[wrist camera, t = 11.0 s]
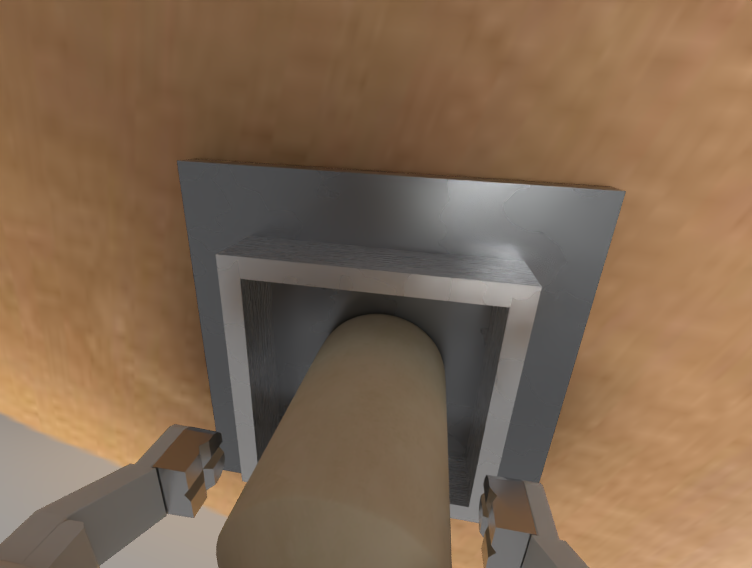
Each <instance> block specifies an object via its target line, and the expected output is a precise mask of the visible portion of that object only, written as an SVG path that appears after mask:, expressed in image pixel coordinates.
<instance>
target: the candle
mask: <svg viewBox="0 0 752 568" xmlns="http://www.w3.org/2000/svg"><path fill="white" fill-rule="evenodd" d="M216 556H217V562H218V567H219V568H452V561H451V530H450V499H449V468H448V438H447V407H446V380H445V369H444V364H443V361H442V358H441V355H440V352H439V350H438V348H437V346H436V345H435V343H434V342H433V340H432V339H431V338H430V337H429V336H428V335H427V334H426V333H425V332H424V331H423V330H422V329H420V328H419V327H417V326H416V325H414V324H413V323H411V322H409V321H407V320H405V319H402V318H399V317H396V316H392V315H386V314H367V315H362V316H358V317H355V318H352V319H350V320H347V321H346V322H344V323H342V324H341V325H340V326H338V327H337V328H336V329H335V330H334V331H333V332H332V333H331V334H330V335H329V336H328V337H327V339H326V340H325V342H324V343H323V345H322V347H321V348H320V350H319V352H318V353H317V355H316V357H315V359H314V361H313V363H312V364H311V366H310V368H309V370H308V372H307V374H306V375H305V377H304V379H303V381H302V383H301V385H300V386H299V388H298V390H297V392H296V394H295V396H294V397H293V399H292V401H291V403H290V405H289V407H288V408H287V410H286V412H285V414H284V416H283V418H282V419H281V421H280V423H279V425H278V427H277V429H276V430H275V432H274V434H273V436H272V438H271V440H270V441H269V443H268V445H267V447H266V449H265V451H264V452H263V454H262V456H261V458H260V460H259V462H258V463H257V465H256V467H255V469H254V471H253V473H252V474H251V476H250V478H249V480H248V482H247V484H246V485H245V487H244V489H243V491H242V493H241V495H240V496H239V498H238V500H237V502H236V504H235V506H234V507H233V509H232V511H231V513H230V515H229V517H228V519H227V520H226V522H225V524H224V526H223V528H222V530H221V532H220V534H219V537H218V541H217V546H216Z"/></svg>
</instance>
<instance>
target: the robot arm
mask: <svg viewBox="0 0 752 568" xmlns="http://www.w3.org/2000/svg"><path fill="white" fill-rule="evenodd" d="M222 442H223V441H222V435H221V433H219V432H216V431H210V430H205V429H200V428H195V427H188V426H183V425H177V424H174V425H172V426H170V427H169V428H168V429H167V430H166V431H165V432H164V433H163V434H162V435H161V437H160V438H159V439H158V440H157V441H156V442H155V443H154V444H153V445H152V446H151V447H150V448H149V449H148V451H147V452H146V453H145V454H144V455H143V456H142V457H141V458H140V459H139V460H138V461H137V462H136V464H129V465H127V466H125V467H123V468H121V469H119V470H117V471H115V472H113V473H111V474H109V475H107V476H105V477H103V478H101V479H99V480H97V481H95V482H93V483H91V484H89V485H87V486H85V487H83V488H81V489H79V490H77V491H75V492H73V493H71V494H69V495H67V496H65V497H63V498H61V499H59V500H57V501H55V502H53V503H51V504H49V505H47V506H45V507H43V508H41V509H39V510H37V511H35V512H34V513H33V514H32V515H31V516H30V517H29V518H28V519H27V520H26V521H25V522H24V523H22V524H21V525H20V526H19V527H18V528H17V529H16V530H15V531H14V532H13V533H12V534H11V535H10V536H9V537H8V538H6V539H5V540H4V541H3V542H2V543H1V544H0V568H100V567H99V566H100V565H101V564H103V563H104V562H105V561H107V560H108V559H109V558H111V557H112V556H113V555H114V554H116V553H117V552H119V551H120V550H121V549H123V548H124V547H125V546H127V545H128V544H129V543H131V542H132V541H133V540H135V539H136V538H137V537H138V536H140V535H141V534H142V533H144V532H145V531H147V530H148V529H149V528H151V527H152V526H153V525H154V524H155V523H157V522H159V521H160V520H161V519H163V518H164V517H165V516H166V514H172V515H179V516H185V517H191V518H194V517H195V515H196V514H197V512H198V511H199V509H200V508H201V506H202V505H203V503H204V502H205V500H206V498H207V491H206V490H207V489H209V488H211V487H212V486H214V485H215V484H216V483H217V481H218V479H219V478H220V476H221V473H222V470H223V468H224V462H225V455H224V451H223V450H222V449H221V448H220V447H219V446H220V444H221V443H222ZM483 486H484V493H483V494H482V495H481V497H480V502H479V514H478V515H479V530H480V533H481V534H482V536H483V537H484V539H483V543H482V548H481V549H482V558H483V567H484V568H589V567H588V566H587V565H586V563H585V562H584V561H583V560H582V559H581V558H580V557H579V556H578V555H577V553H576V552H575V551H574V550H573V549H572V548H571V547H570V546H569V544H568V543H567V542H566V541H563V540H559V536H558V533H557V530H556V527H555V523H554V520H553V517H552V514H551V510H550V507H549V504H548V500H547V497H546V494H545V491H544V487H543V486H542V484H541V483H537V482H531V481H524V480H522V481H521V480H519V479H512V478H505V477H498V476H492V475H486V476H485V479H484V483H483Z"/></svg>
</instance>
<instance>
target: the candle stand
mask: <svg viewBox="0 0 752 568" xmlns="http://www.w3.org/2000/svg"><path fill="white" fill-rule="evenodd" d="M177 165H178V171H179V178H180V185H181V192H182V199H183V206H184V213H185V220H186V227H187V233H188V240H189V247H190V254H191V261H192V268H193V275H194V282H195V289H196V296H197V302H198V309H199V316H200V323H201V330H202V337H203V344H204V351H205V358H206V364H207V371H208V378H209V385H210V392H211V399H212V406H213V413H214V420H215V426H216V432H219V433H221V435H222V441H223V442H222V443H221V444H220V446H219V447H220V448H221V449H222V450H223V451H224V455H225V462H224V468H223V470H226V471H232V472H238V473H242V481H244V482H248V480H249V478H250V476H251V474H252V473H253V471H254V469H255V467H256V465H257V463H258V462H259V460H260V458H261V456H262V454H263V452H264V451H265V449H266V447H267V445H268V443H269V441H270V440H271V438H272V436H273V434H274V432H275V430H276V429H277V427H278V425H279V423H280V421H281V419H282V418H283V416H284V414H285V412H286V410H287V408H288V407H289V405H290V403H291V401H292V399H293V397H294V396H295V394H296V392H297V390H298V388H299V386H300V385H301V383H302V381H303V379H304V377H305V375H306V374H307V372H308V370H309V368H310V366H311V364H312V363H313V361H314V359H315V357H316V355H317V353H318V352H319V350H320V348H321V347H322V345H323V343H324V342H325V340H326V339H327V337H328V336H329V335H330V334H331V333H332V332H333V331H334V330H335V329H336V328H337V327H338V326H340V325H341V324H342V323H344V322H346V321H347V320H350V319H352V318H355V317H358V316H362V315H367V314H386V315H392V316H396V317H399V318H402V319H405V320H407V321H409V322H411V323H413V324H414V325H416V326H417V327H419V328H420V329H422V330H423V331H424V332H425V333H426V334H427V335H428V336H429V337H430V338H431V339H432V340H433V342H434V343H435V345H436V346H437V348H438V350H439V352H440V355H441V358H442V361H443V364H444V369H445V380H446V407H447V438H448V468H449V499H450V518H454V519H459V520H465V521H471V522H476V523H479V515H478V514H479V502H480V497H481V495H482V494H483V493H484V486H483V483H484V479H485V476H486V475H492V476H498V477H505V478H512V479H519V480H521V481H522V480H524V481H531V482H537V483H539V481H540V478H541V474H542V471H543V468H544V464H545V461H546V458H547V454H548V451H549V448H550V444H551V441H552V438H553V434H554V431H555V427H556V424H557V421H558V417H559V414H560V411H561V407H562V404H563V401H564V397H565V394H566V391H567V387H568V384H569V380H570V377H571V374H572V370H573V367H574V364H575V360H576V357H577V354H578V350H579V347H580V343H581V340H582V337H583V333H584V330H585V327H586V323H587V320H588V317H589V313H590V310H591V307H592V303H593V300H594V296H595V293H596V290H597V286H598V283H599V280H600V276H601V273H602V270H603V266H604V263H605V260H606V256H607V253H608V249H609V246H610V243H611V239H612V236H613V233H614V229H615V226H616V223H617V219H618V216H619V213H620V209H621V206H622V202H623V199H624V196H625V192H626V191H623V190H620V189H617V188H614V187H610V186H595V185H580V184H565V183H550V182H535V181H520V180H506V179H491V178H476V177H461V176H446V175H431V174H416V173H401V172H387V171H372V170H357V169H342V168H327V167H312V166H297V165H282V164H267V163H253V162H238V161H223V160H208V159H188V160H178V161H177Z"/></svg>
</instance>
